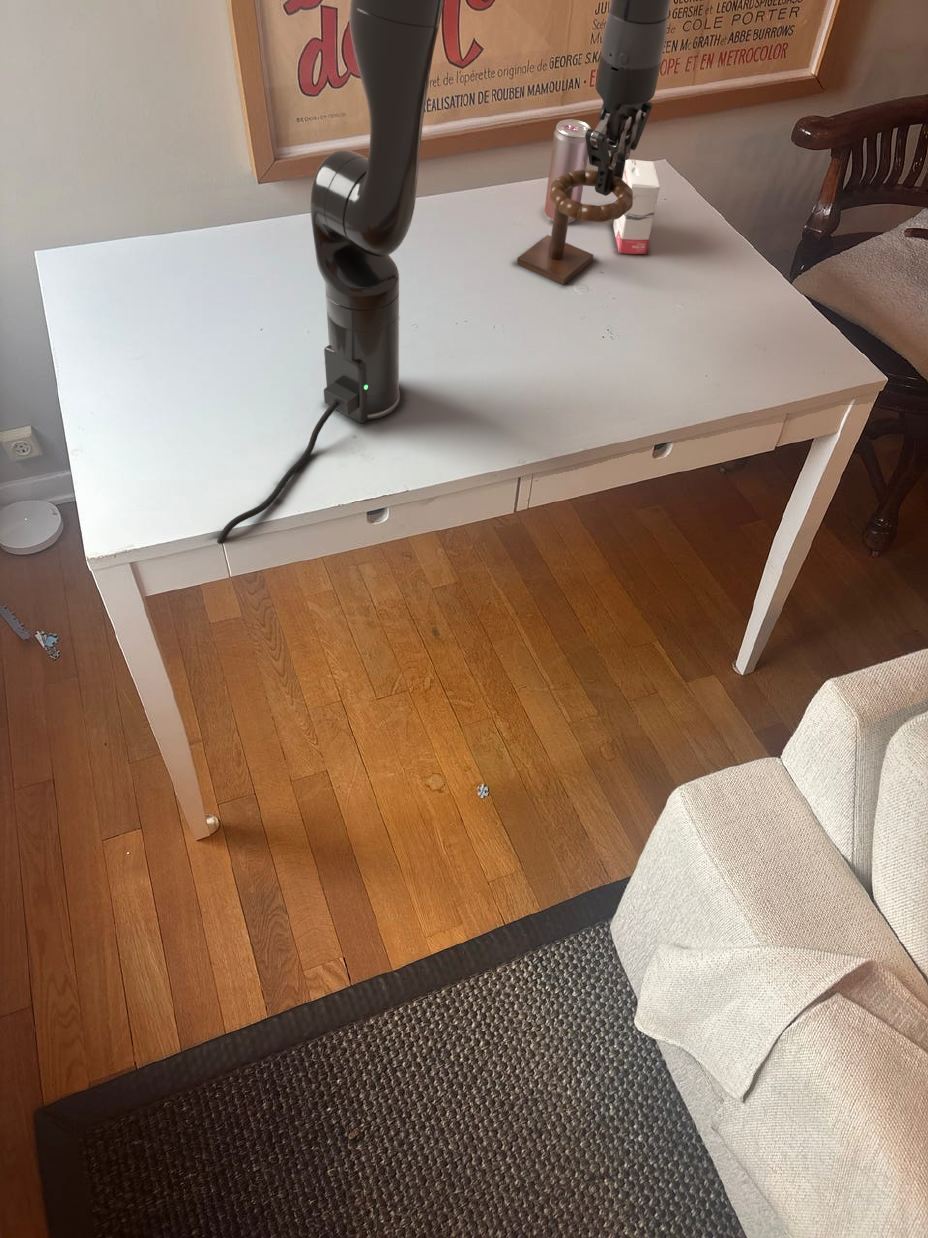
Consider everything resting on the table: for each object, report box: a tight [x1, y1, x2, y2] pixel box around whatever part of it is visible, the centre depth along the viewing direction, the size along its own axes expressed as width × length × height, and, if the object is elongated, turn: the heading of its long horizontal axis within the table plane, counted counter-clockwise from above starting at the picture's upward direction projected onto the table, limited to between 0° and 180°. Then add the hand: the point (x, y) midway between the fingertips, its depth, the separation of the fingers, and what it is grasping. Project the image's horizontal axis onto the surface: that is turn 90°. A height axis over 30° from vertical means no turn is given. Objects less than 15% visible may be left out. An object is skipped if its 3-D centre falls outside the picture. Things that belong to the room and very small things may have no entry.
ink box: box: [612, 158, 661, 255], centre depth 158 cm, size 9×5×12 cm, turn 0°
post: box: [516, 187, 594, 285], centre depth 152 cm, size 9×9×13 cm
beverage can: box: [544, 118, 592, 224], centre depth 160 cm, size 6×6×15 cm
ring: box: [550, 168, 633, 223], centre depth 128 cm, size 11×11×2 cm
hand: (607, 188), depth 131 cm, fingers closed on ring, 2 cm apart
